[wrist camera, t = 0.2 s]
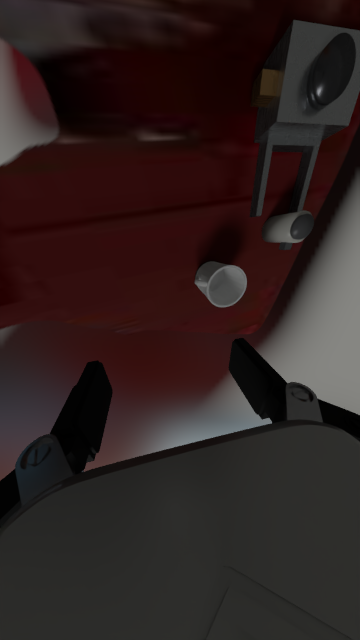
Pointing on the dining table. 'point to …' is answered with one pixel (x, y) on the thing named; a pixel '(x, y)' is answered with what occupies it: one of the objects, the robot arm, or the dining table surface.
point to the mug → (221, 283)
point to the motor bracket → (303, 99)
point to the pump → (288, 228)
